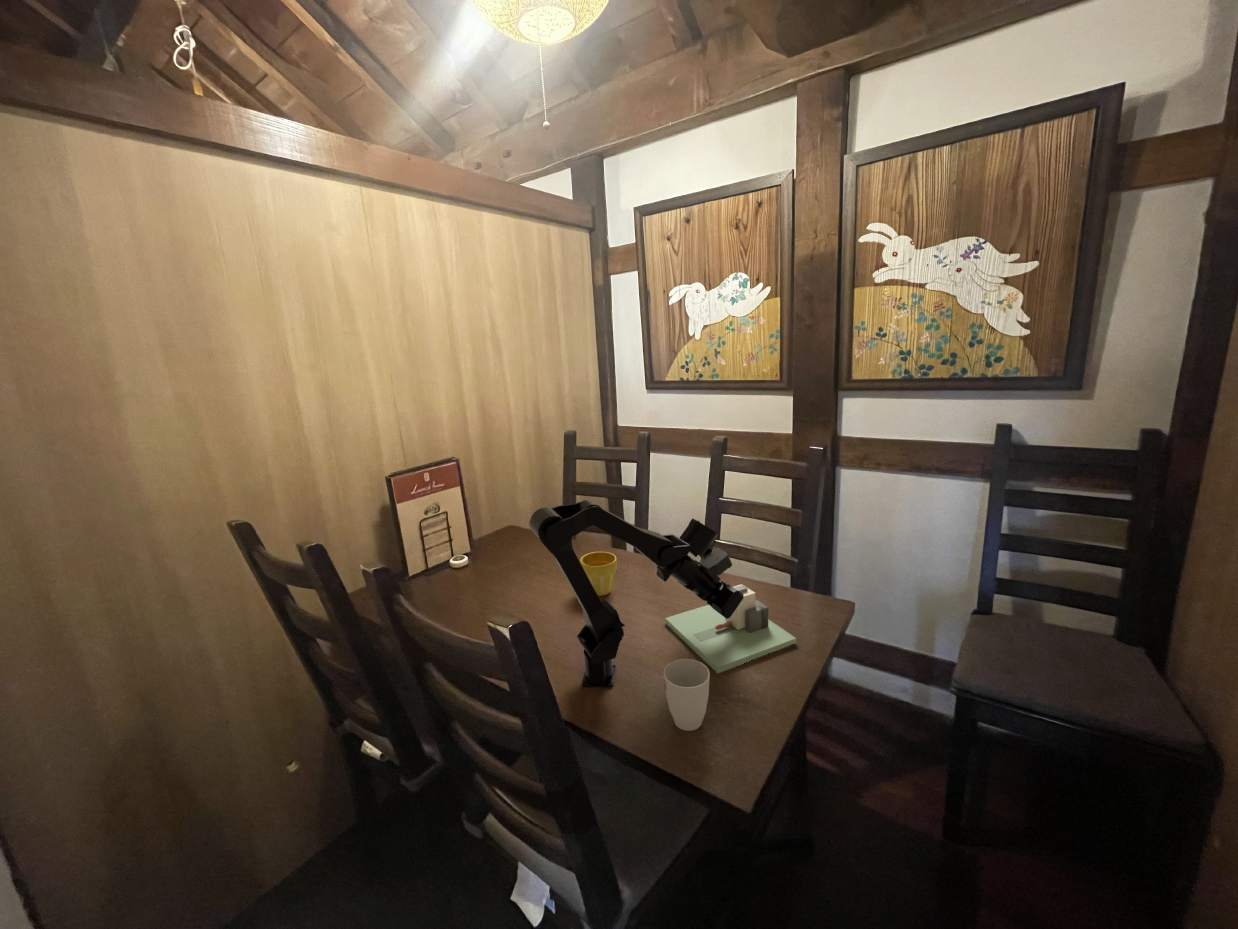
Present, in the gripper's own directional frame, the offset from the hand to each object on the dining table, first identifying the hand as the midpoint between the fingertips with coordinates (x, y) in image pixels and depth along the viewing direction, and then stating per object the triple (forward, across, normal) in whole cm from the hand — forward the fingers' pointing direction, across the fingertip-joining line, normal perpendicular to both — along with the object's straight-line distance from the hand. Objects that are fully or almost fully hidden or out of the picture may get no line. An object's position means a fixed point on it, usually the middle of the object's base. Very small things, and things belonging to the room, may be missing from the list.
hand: (730, 604), depth 116 cm
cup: (-12, -19, +22) cm, 32 cm away
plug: (+4, 0, +3) cm, 5 cm away
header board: (+4, 0, +6) cm, 7 cm away
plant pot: (-8, +35, +18) cm, 41 cm away
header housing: (+7, 0, +1) cm, 7 cm away
